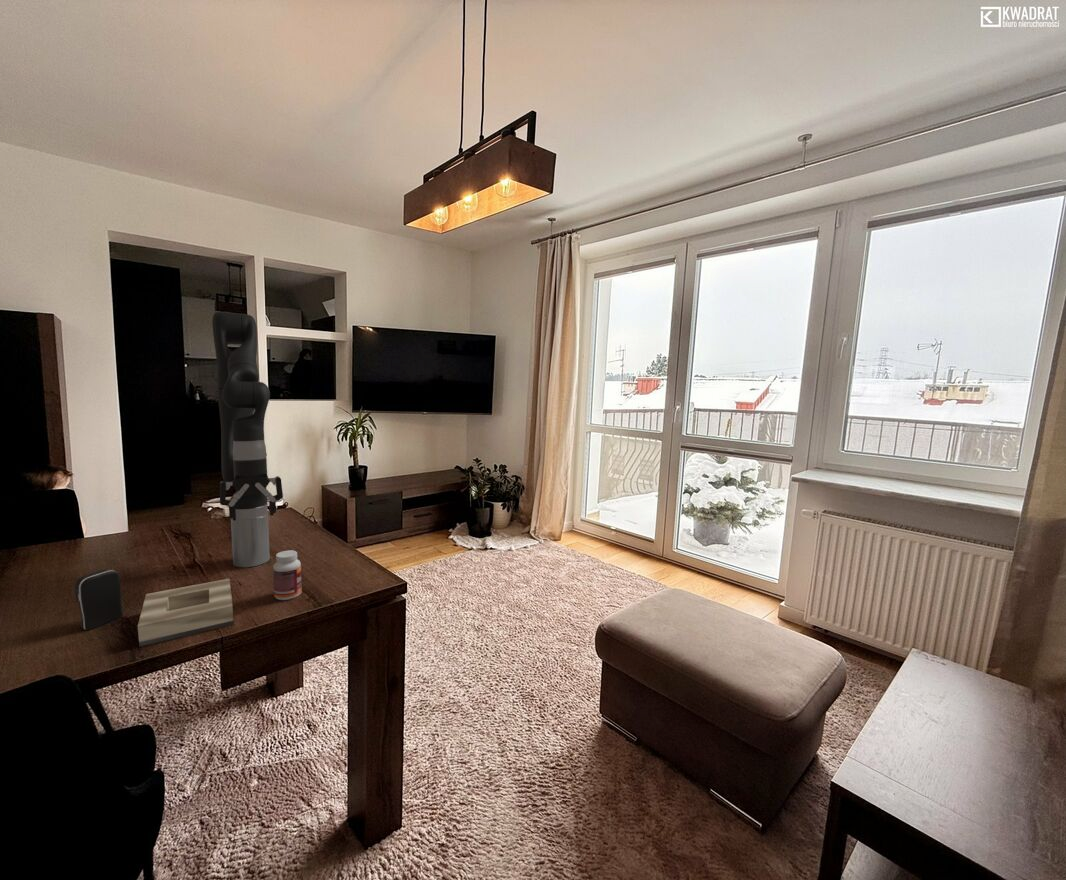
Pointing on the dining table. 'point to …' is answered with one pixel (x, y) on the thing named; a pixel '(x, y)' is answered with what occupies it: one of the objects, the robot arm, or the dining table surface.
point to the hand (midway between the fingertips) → (253, 517)
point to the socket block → (185, 611)
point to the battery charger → (98, 598)
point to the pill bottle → (287, 575)
